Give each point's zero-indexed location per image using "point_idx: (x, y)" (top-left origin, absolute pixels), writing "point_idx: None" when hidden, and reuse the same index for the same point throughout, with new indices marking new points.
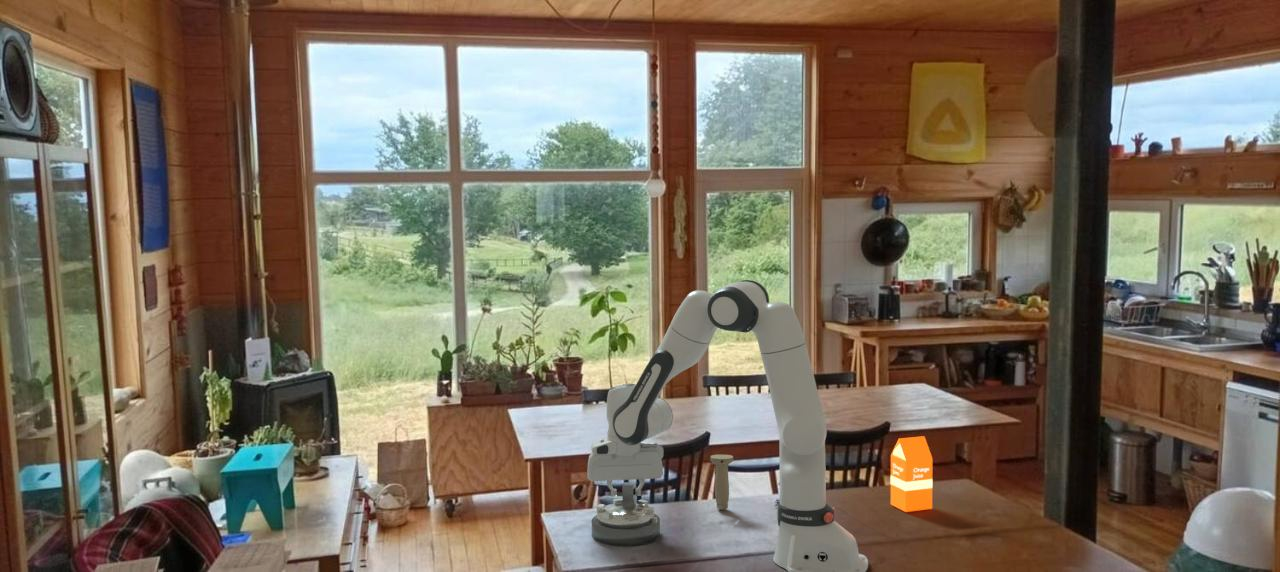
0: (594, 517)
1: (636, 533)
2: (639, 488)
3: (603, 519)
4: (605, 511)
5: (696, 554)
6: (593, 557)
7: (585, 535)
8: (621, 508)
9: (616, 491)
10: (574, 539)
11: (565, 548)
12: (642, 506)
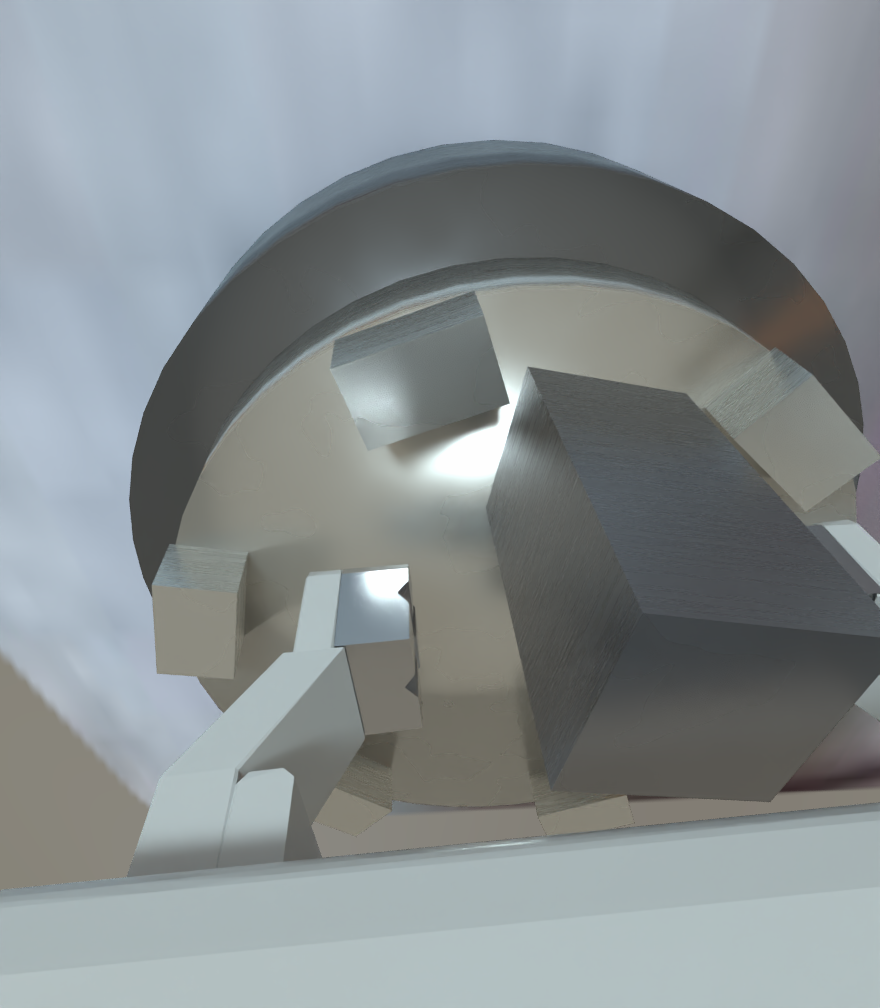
0: (144, 496)
1: None
2: (867, 703)
3: None
4: (281, 631)
5: (861, 732)
6: None
7: (127, 489)
8: (470, 538)
9: (418, 714)
10: (68, 569)
11: (77, 703)
12: (754, 465)
